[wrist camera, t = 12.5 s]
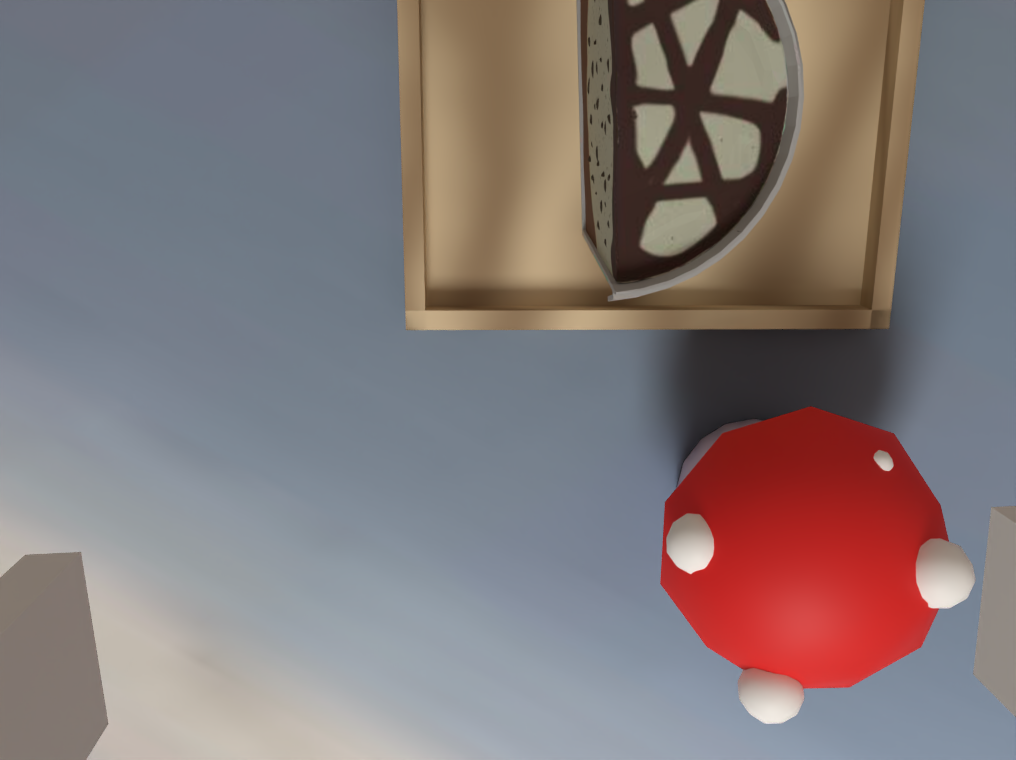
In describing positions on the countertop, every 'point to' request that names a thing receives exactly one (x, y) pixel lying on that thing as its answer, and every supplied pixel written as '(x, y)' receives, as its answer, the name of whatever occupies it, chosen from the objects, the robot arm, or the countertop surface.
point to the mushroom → (807, 554)
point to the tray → (557, 178)
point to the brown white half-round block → (681, 131)
